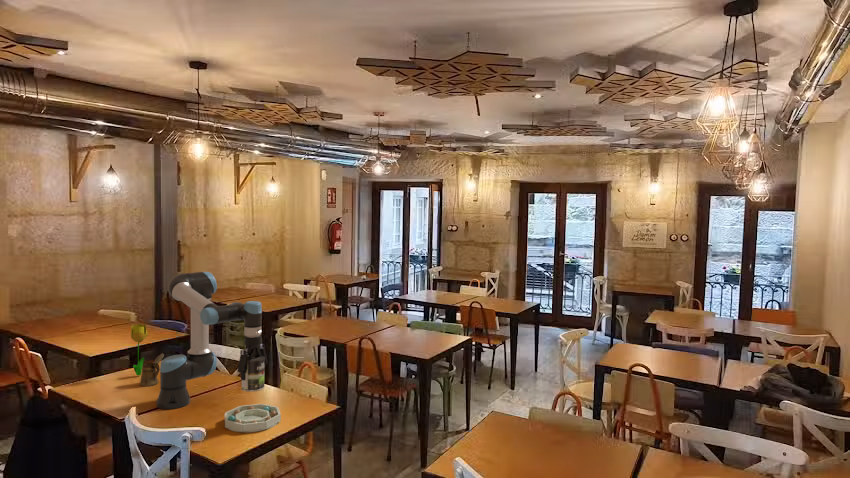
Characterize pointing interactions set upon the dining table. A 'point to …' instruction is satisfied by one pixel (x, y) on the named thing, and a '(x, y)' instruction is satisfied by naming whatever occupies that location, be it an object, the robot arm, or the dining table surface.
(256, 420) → the tray
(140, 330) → the flower
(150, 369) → the wooden mug
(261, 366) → the coffee can
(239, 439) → the dining table surface
